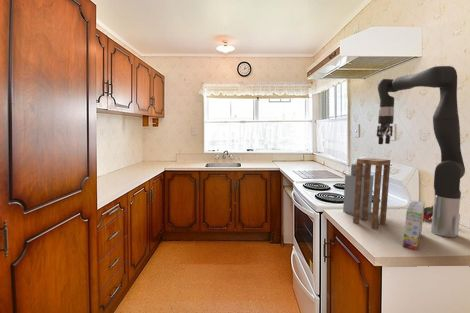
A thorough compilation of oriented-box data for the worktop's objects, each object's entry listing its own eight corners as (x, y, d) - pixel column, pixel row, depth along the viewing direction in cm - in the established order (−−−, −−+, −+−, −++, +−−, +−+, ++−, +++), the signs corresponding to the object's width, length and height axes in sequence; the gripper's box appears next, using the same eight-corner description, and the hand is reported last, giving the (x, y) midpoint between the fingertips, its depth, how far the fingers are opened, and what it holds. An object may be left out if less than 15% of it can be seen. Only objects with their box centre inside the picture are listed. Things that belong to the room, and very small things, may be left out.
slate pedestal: (371, 212, 155) (373, 175, 152) (360, 216, 147) (362, 177, 145) (354, 207, 162) (356, 172, 160) (343, 211, 155) (345, 174, 153)
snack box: (418, 251, 106) (422, 213, 104) (402, 247, 109) (405, 210, 108) (422, 234, 123) (425, 201, 121) (407, 231, 126) (410, 199, 125)
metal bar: (373, 172, 160) (374, 162, 160) (362, 176, 148) (362, 165, 147) (362, 171, 165) (363, 161, 164) (350, 175, 152) (351, 164, 151)
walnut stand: (385, 224, 135) (390, 159, 131) (375, 229, 128) (380, 161, 125) (363, 218, 143) (367, 157, 140) (353, 222, 137) (357, 158, 133)
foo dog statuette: (430, 230, 141) (443, 217, 132) (410, 218, 146) (421, 206, 137) (435, 219, 145) (447, 207, 136) (415, 208, 150) (426, 196, 141)
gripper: (384, 115, 162) (382, 143, 164) (373, 115, 153) (371, 144, 155) (398, 115, 156) (396, 144, 158) (387, 114, 148) (385, 144, 149)
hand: (384, 144), depth 157 cm, fingers open, 8 cm apart
